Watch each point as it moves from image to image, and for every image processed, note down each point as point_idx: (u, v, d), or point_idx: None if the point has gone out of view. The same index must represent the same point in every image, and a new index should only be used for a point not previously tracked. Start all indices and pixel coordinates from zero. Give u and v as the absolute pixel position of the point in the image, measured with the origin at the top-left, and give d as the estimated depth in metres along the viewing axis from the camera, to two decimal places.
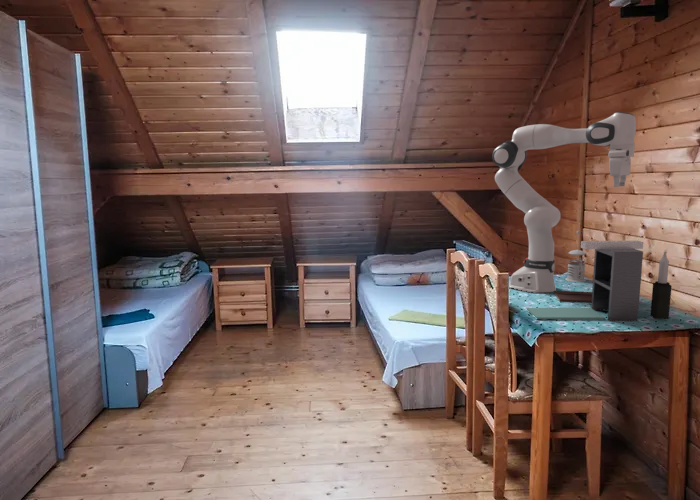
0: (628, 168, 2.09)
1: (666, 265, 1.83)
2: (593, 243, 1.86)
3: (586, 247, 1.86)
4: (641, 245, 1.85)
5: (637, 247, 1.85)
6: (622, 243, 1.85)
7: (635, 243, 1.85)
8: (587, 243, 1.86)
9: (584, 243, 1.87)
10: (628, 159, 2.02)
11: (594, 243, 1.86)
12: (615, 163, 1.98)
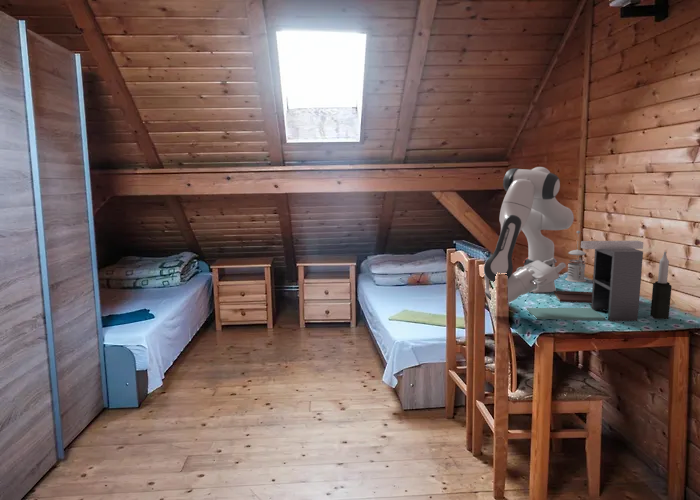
0: None
1: (666, 265, 1.83)
2: (593, 243, 1.86)
3: (586, 247, 1.86)
4: (641, 245, 1.85)
5: (637, 247, 1.85)
6: (622, 243, 1.85)
7: (635, 243, 1.85)
8: (587, 243, 1.86)
9: (584, 243, 1.87)
10: None
11: (594, 243, 1.86)
12: None
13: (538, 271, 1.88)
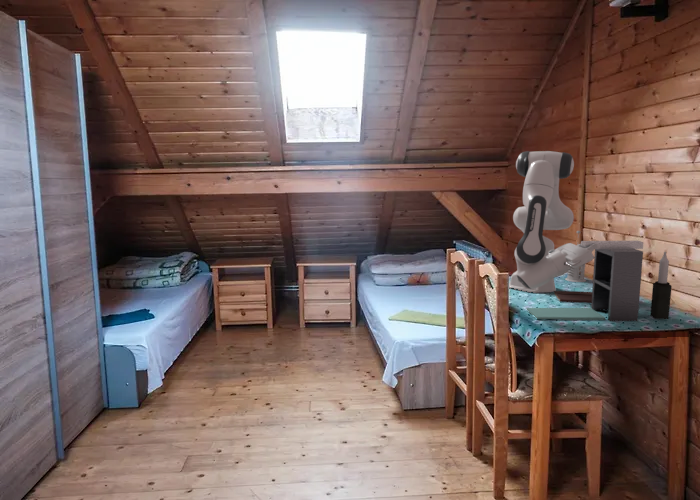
0: None
1: (666, 265, 1.83)
2: None
3: (586, 247, 1.86)
4: (641, 245, 1.85)
5: (637, 247, 1.85)
6: (622, 243, 1.85)
7: (635, 243, 1.85)
8: (587, 243, 1.86)
9: (584, 243, 1.87)
10: None
11: None
12: None
13: (571, 253, 1.86)
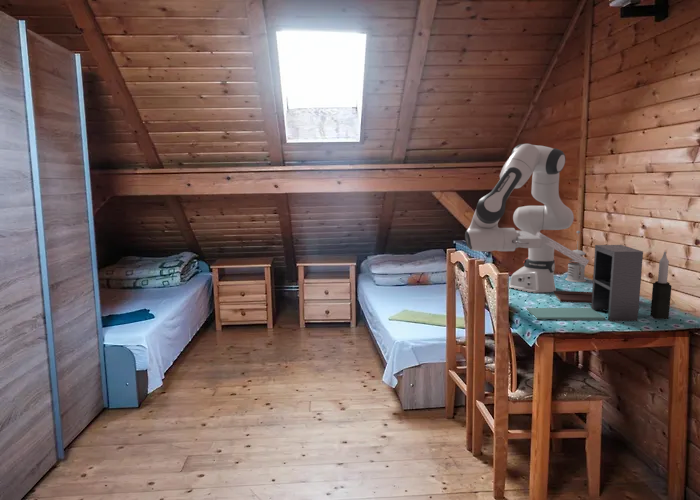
0: None
1: (666, 265, 1.83)
2: (547, 237, 1.86)
3: None
4: (586, 262, 1.87)
5: (581, 262, 1.87)
6: (571, 251, 1.87)
7: (582, 257, 1.87)
8: (542, 235, 1.86)
9: (539, 234, 1.87)
10: None
11: None
12: None
13: (523, 236, 1.86)
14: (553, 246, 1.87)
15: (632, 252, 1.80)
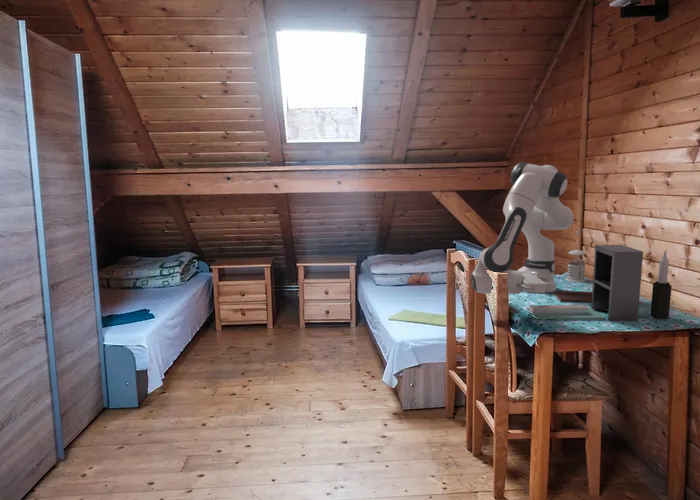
0: None
1: (666, 265, 1.83)
2: (540, 309, 1.90)
3: (533, 313, 1.90)
4: (586, 310, 1.90)
5: (582, 312, 1.90)
6: (568, 309, 1.90)
7: (580, 308, 1.90)
8: (534, 309, 1.90)
9: (532, 308, 1.91)
10: None
11: (541, 309, 1.90)
12: None
13: (528, 279, 1.89)
14: (550, 313, 1.90)
15: (632, 252, 1.80)
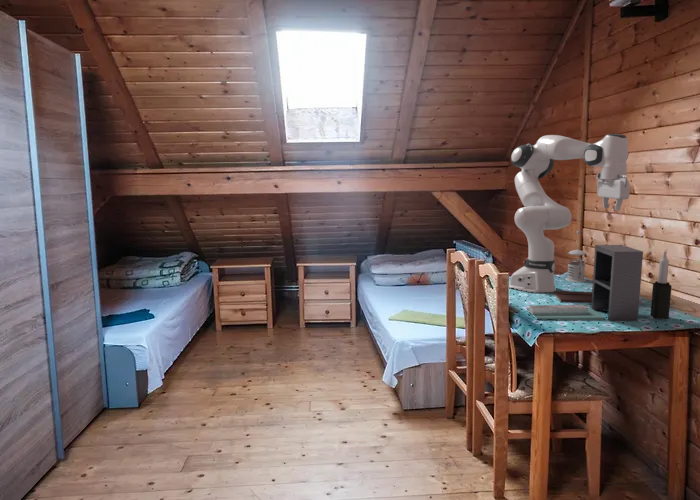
0: (614, 191, 1.96)
1: (666, 265, 1.83)
2: (540, 309, 1.90)
3: (533, 313, 1.90)
4: (586, 310, 1.90)
5: (582, 312, 1.90)
6: (568, 309, 1.90)
7: (580, 308, 1.90)
8: (534, 309, 1.90)
9: (532, 308, 1.91)
10: (604, 181, 2.02)
11: (541, 309, 1.90)
12: None
13: None
14: (550, 313, 1.90)
15: (632, 252, 1.80)
